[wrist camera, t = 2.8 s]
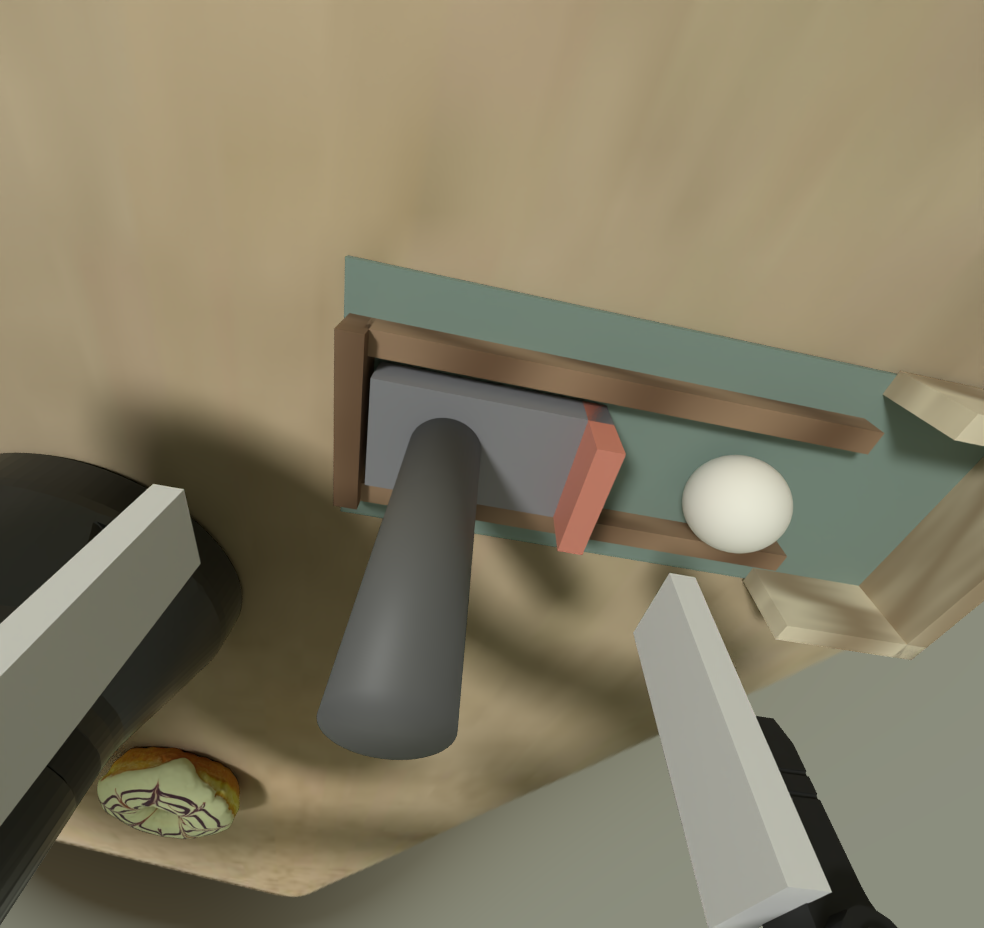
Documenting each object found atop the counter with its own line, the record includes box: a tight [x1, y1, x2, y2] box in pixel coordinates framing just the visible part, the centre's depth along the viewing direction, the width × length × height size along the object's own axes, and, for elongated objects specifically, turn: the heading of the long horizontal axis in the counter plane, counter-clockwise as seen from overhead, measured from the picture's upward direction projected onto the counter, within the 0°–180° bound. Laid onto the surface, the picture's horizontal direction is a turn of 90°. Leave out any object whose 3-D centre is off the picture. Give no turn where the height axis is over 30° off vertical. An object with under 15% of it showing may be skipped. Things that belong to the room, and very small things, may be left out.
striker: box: [317, 361, 626, 760], centre depth 14 cm, size 9×5×12 cm, turn 79°
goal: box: [743, 371, 984, 660], centre depth 20 cm, size 7×12×4 cm, turn 169°
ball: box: [682, 455, 793, 553], centre depth 19 cm, size 4×4×4 cm
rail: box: [333, 313, 884, 571], centre depth 19 cm, size 21×8×2 cm, turn 79°
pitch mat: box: [341, 256, 984, 586], centre depth 20 cm, size 28×12×1 cm, turn 79°
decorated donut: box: [97, 747, 240, 839], centre depth 38 cm, size 10×11×4 cm
